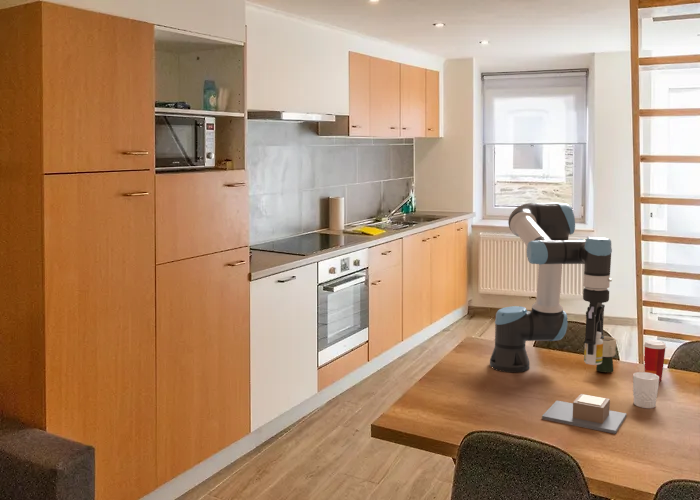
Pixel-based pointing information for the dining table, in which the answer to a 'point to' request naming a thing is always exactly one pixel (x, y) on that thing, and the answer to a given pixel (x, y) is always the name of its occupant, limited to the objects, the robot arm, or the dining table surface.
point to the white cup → (645, 389)
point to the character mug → (607, 355)
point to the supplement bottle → (598, 349)
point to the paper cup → (654, 357)
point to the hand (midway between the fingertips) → (593, 361)
